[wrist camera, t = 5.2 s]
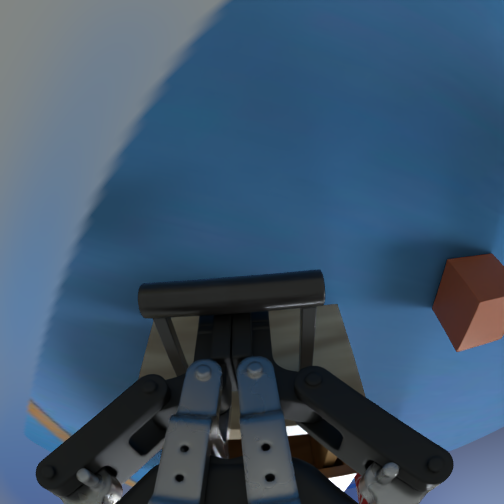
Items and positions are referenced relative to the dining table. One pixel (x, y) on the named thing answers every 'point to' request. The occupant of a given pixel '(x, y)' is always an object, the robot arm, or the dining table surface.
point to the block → (471, 301)
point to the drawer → (281, 329)
